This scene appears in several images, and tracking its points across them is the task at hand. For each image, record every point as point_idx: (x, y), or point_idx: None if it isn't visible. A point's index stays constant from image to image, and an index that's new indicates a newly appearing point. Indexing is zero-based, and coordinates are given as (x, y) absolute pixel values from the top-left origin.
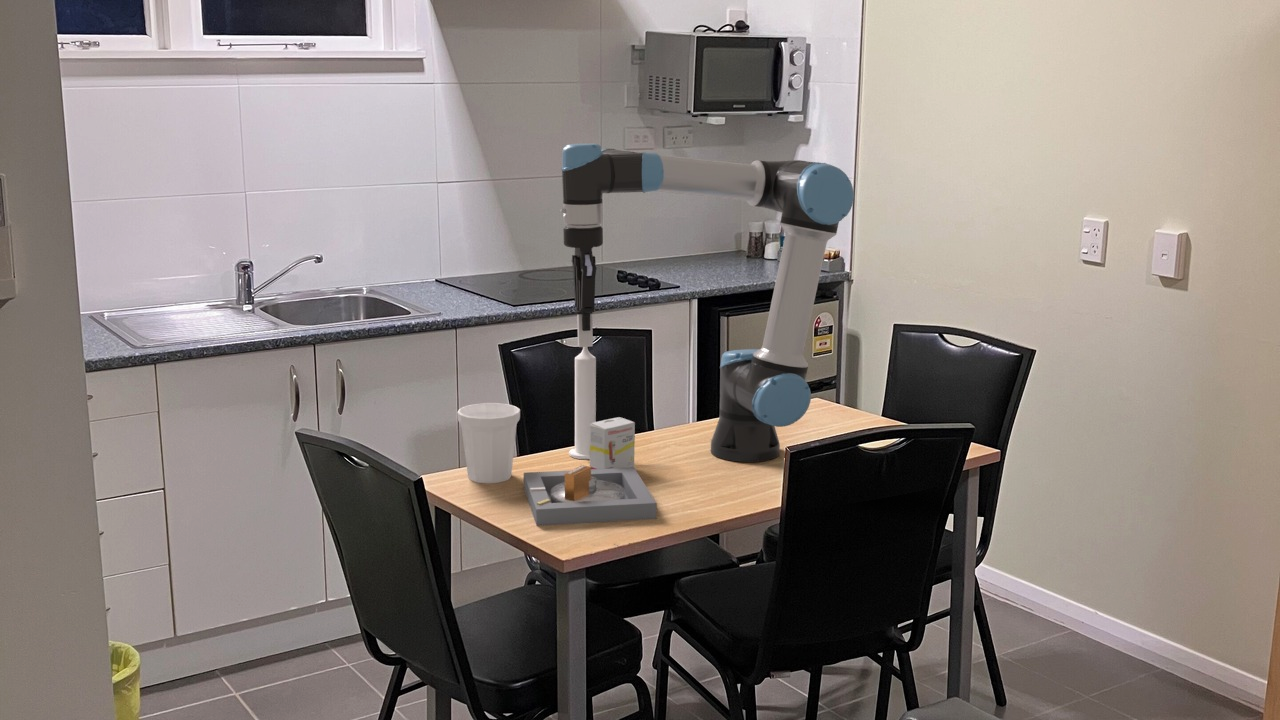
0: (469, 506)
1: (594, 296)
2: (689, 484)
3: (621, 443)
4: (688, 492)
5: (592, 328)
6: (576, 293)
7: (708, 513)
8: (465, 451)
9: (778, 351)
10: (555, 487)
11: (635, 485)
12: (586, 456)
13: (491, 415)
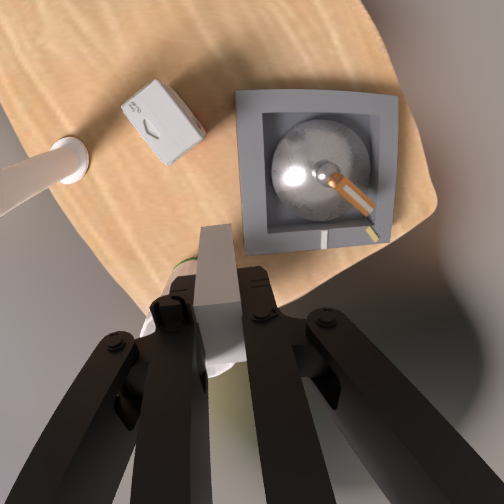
0: (279, 299)
1: (404, 378)
2: (221, 16)
3: (183, 106)
4: (258, 23)
5: (233, 257)
6: (132, 443)
7: (346, 23)
8: None
9: None
10: (302, 213)
11: (327, 104)
12: (87, 158)
13: (152, 331)
